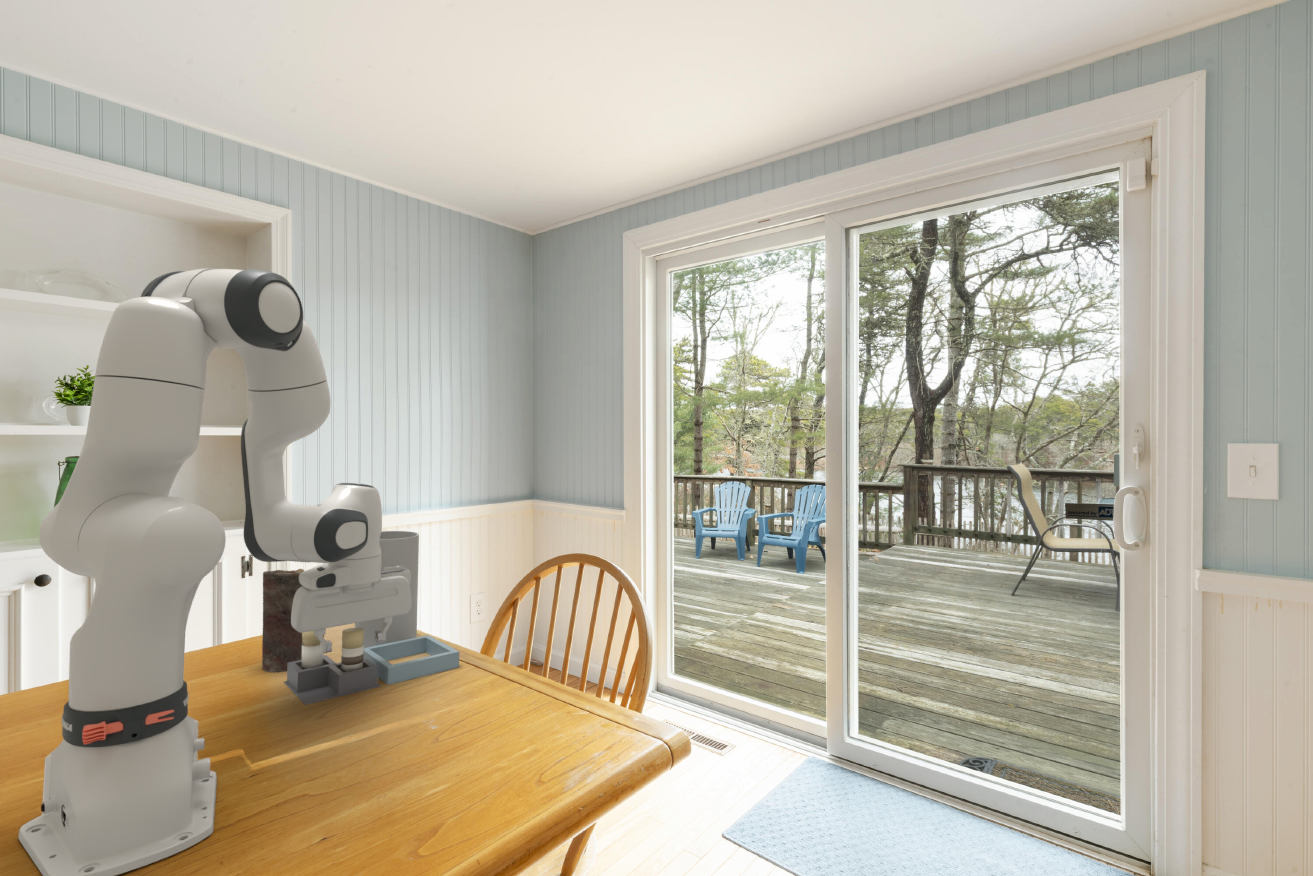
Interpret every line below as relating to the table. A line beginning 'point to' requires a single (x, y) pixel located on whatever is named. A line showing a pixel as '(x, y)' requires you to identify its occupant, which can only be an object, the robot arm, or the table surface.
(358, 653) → the fuse
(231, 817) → the table surface
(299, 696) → the fuse holder
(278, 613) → the candle
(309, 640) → the cylinder
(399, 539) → the cylinder vase
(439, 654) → the parts tray
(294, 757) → the table surface
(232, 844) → the table surface
